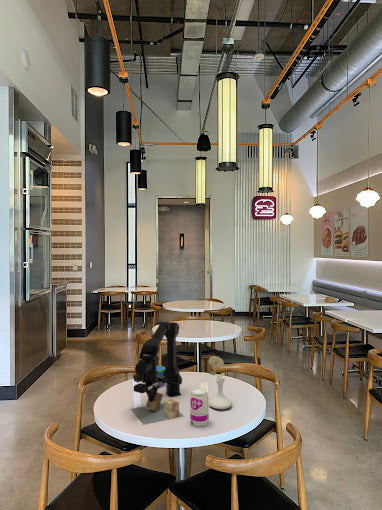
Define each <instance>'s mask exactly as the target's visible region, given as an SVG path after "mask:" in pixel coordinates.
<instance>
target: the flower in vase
mask: <svg viewBox="0 0 382 510" xmlns="http://www.w3.org/2000/svg"><path fill="white" fill-rule="evenodd" d="M208 358H209V359H208V363H209V364H210V366H212V367H214V371H210V372H208V374H209V375H212V376H216V377H217V378H214V380H215V381H216V384H217V394H216V395H215V396H214V397H212V398H211V399H210V401H208V406H210V407H211V408H213V409H216V410H227V409H229V408H231V407H232V405H233V402H232V401H231V400H230V399H229V398H228V397H227V396H226V395H225V394H224V392H223V388H224V387H223V386H224V382H225V381H226V378H224V377H223V376H224V375H225V374H226V373H225V372H223V373H220V374H219V375H218V374H217V372H216V371H217V370H216V368H218V369H221V368H223V367H224V365H225V362H224V359H222V357H221V358H220V356H216V355H215V356H214V355H213V356H210V357H208Z"/></svg>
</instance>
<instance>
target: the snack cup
mask: <svg viewBox="0 0 382 510" xmlns="http://www.w3.org/2000/svg"><path fill="white" fill-rule="evenodd" d="M164 369H166V367H165V366H163V365H157V371H158V374H157V376H158V375H160V376H164ZM157 384H158V386H160V387H162V386H164V384H163V383H162V382H159V383H157Z"/></svg>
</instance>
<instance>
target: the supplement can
mask: <svg viewBox="0 0 382 510" xmlns="http://www.w3.org/2000/svg"><path fill="white" fill-rule="evenodd" d="M189 416H190V420H189V421H190V425H191V426H192V427H194V428H203V427H204V428H205V427H206V426H208V425H209V423H210V421H209V393H208V390H207V389H205V388H194V389H191V392H190V394H189Z"/></svg>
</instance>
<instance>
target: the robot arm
mask: <svg viewBox="0 0 382 510" xmlns="http://www.w3.org/2000/svg"><path fill="white" fill-rule="evenodd" d="M179 331H180V324H179V323H178V322H175V321H174V322H173V321H160V322H159V324H158V327H157V329H156V330H155V332H154V333H153V335H152V336H151V338H149V339H148V340H146V341H144V343H143V345H142V346H141V349H140V353H139V356H138V363H136V364H135V367H134V371H135V373H136V374H134V375H133V378H132V379H133V382H136V384H135V385H134V386H133V392H135V393H139V394H145V393H146V395H147V398H149V401H150V402H152V401H153V399H154V397H155V395H156V393H157V392H158V391H159V390H160V388H161V386H158V384H157V383H159V382H162V383H163V385H165V384H166V387H165V391H166V392H165V394H166V395H167V396H169V397H170V398H173V397H179V396H182V394H181V389H180V388H181V385H182V383H183V377H182V375H181V374H180V369H179V367H178V365H177V337H178V335H179ZM164 337H165V338H166V367H165V369H164V376H160V375H158V376H157V374H158V371H157V366H158V365H157V359H158V358H159V356H158V355H159V352H160V344H161V342H162V340H163V339H164Z"/></svg>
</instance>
